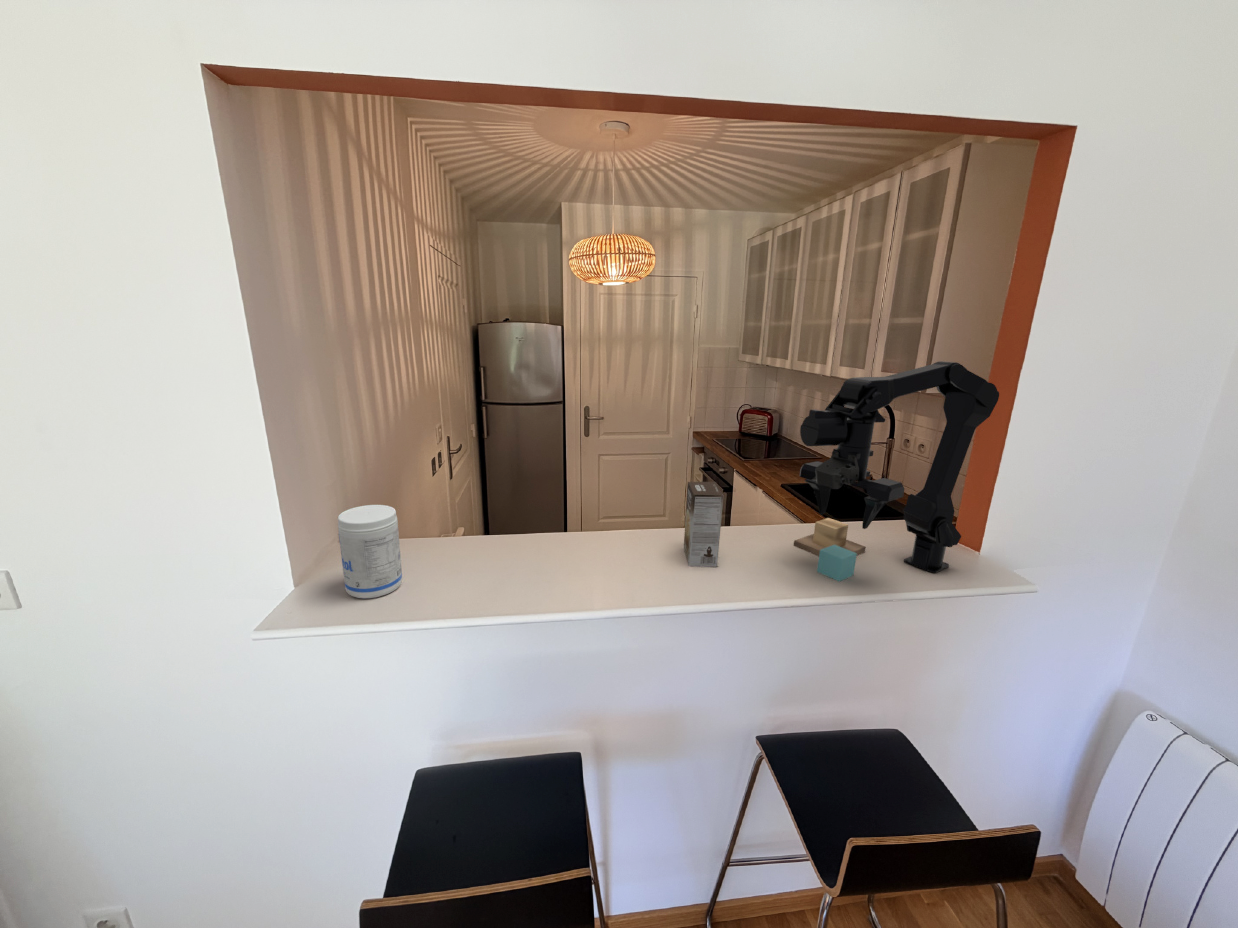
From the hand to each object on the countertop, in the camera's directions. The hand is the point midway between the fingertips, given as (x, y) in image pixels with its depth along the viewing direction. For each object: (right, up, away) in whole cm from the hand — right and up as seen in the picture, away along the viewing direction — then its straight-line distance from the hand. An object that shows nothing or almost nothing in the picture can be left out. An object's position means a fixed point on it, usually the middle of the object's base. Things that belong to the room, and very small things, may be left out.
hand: (842, 520), depth 98 cm
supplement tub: (-90, -12, -7) cm, 91 cm away
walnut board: (+3, -9, +15) cm, 18 cm away
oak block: (+3, -7, +14) cm, 16 cm away
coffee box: (-27, -9, +8) cm, 30 cm away
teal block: (0, -11, +3) cm, 12 cm away
